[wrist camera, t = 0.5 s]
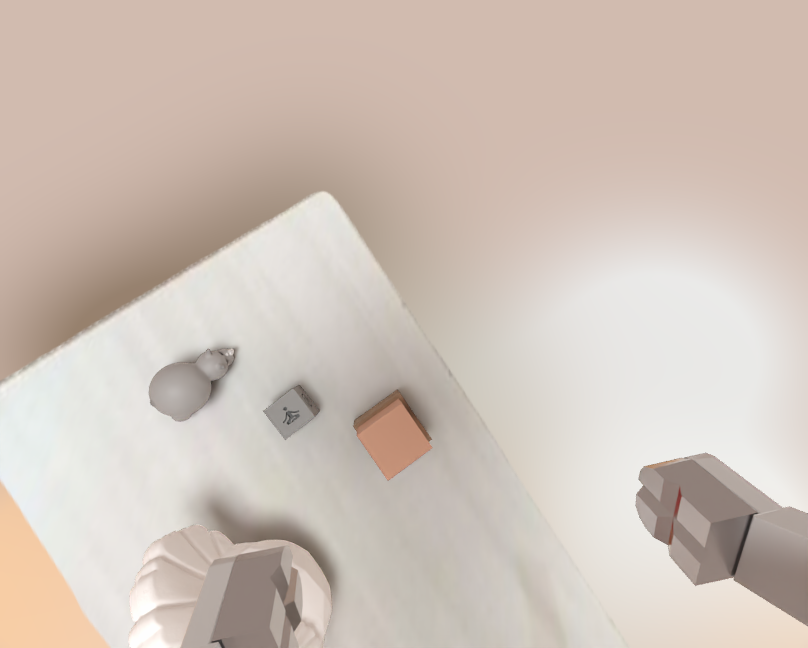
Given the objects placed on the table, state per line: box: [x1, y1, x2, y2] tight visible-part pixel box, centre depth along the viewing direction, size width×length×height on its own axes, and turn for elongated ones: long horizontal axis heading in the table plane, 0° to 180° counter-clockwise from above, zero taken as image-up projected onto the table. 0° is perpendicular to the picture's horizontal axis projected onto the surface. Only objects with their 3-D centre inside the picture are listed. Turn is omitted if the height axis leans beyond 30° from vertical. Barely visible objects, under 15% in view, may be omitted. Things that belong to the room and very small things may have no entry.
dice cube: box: [263, 385, 319, 440], centre depth 54 cm, size 5×5×5 cm
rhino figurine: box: [149, 349, 234, 422], centre depth 52 cm, size 7×12×8 cm, turn 132°
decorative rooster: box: [128, 525, 332, 648], centre depth 43 cm, size 25×16×25 cm, turn 27°
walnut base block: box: [353, 390, 432, 442], centre depth 56 cm, size 8×8×5 cm
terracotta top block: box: [357, 398, 432, 481], centre depth 51 cm, size 7×7×5 cm
